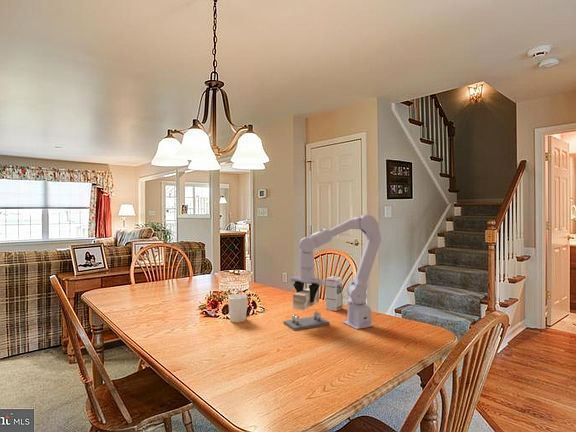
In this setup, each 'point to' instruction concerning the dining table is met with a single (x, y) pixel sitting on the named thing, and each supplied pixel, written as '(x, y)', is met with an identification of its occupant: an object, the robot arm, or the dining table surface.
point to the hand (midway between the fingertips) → (306, 301)
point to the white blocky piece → (304, 299)
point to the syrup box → (334, 293)
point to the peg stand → (306, 322)
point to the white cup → (237, 307)
